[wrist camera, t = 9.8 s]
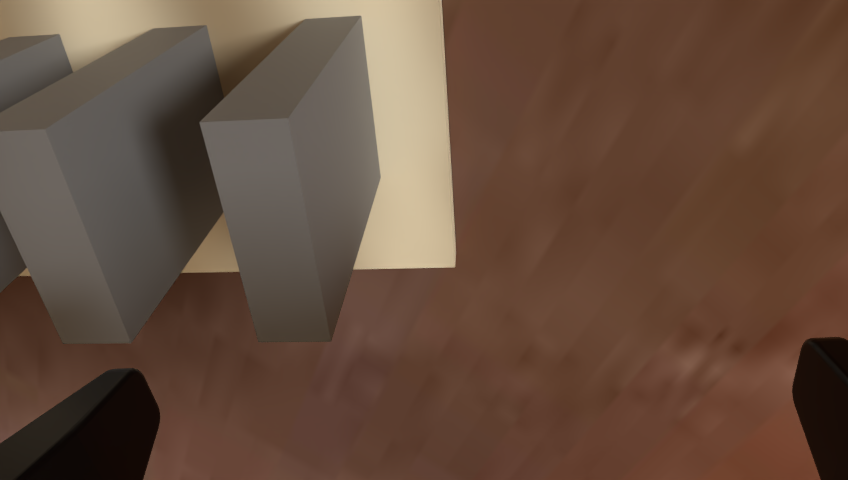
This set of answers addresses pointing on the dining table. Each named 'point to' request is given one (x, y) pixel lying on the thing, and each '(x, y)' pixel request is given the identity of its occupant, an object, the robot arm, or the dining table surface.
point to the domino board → (250, 44)
